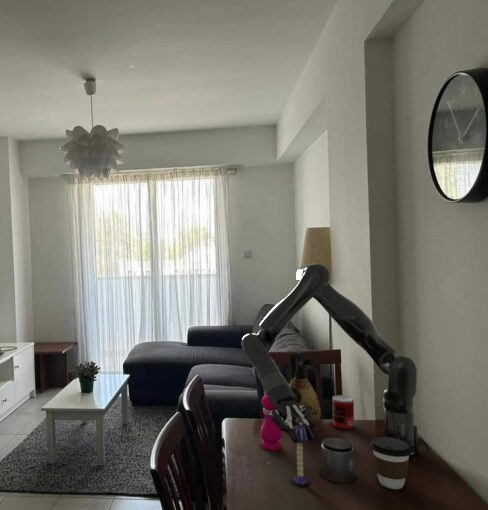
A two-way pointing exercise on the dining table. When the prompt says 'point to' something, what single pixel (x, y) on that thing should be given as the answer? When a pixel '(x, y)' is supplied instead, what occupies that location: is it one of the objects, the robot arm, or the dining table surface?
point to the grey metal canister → (337, 460)
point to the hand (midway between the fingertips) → (304, 440)
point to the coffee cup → (391, 461)
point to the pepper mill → (269, 428)
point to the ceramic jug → (303, 387)
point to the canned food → (343, 412)
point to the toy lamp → (300, 456)
